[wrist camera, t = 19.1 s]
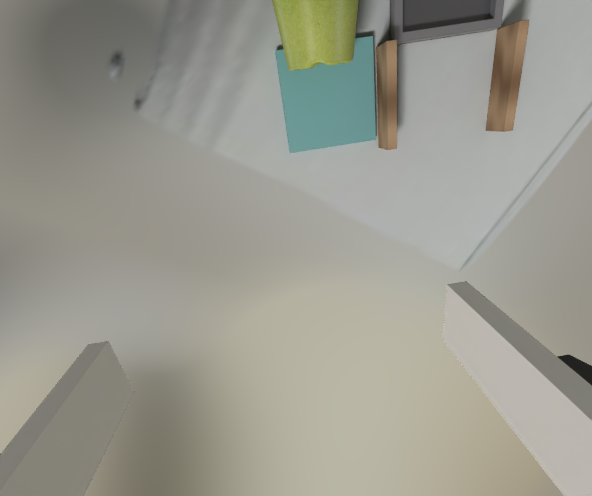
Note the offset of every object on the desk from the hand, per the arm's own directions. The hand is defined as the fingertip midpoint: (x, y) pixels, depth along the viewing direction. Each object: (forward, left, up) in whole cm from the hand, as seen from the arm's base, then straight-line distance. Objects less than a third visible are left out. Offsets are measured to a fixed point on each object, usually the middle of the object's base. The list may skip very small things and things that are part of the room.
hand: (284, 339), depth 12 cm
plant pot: (-11, +6, -23) cm, 27 cm away
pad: (-9, +8, -27) cm, 29 cm away
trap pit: (-16, +20, -27) cm, 37 cm away
